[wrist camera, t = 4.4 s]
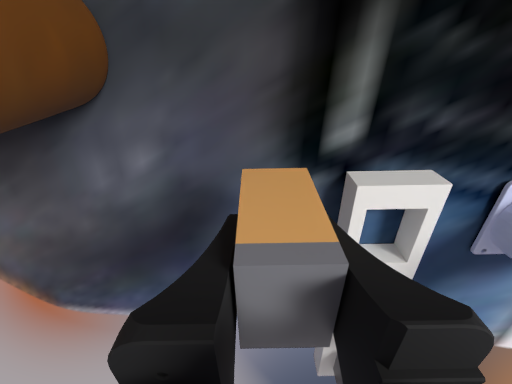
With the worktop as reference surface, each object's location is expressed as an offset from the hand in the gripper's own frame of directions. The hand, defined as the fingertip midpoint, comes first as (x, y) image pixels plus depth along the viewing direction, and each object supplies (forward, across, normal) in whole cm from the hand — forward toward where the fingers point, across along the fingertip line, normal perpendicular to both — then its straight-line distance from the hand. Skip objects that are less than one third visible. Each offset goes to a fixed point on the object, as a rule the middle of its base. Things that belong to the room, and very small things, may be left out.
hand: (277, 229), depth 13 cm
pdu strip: (+9, -10, +15) cm, 20 cm away
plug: (+2, 0, 0) cm, 2 cm away
